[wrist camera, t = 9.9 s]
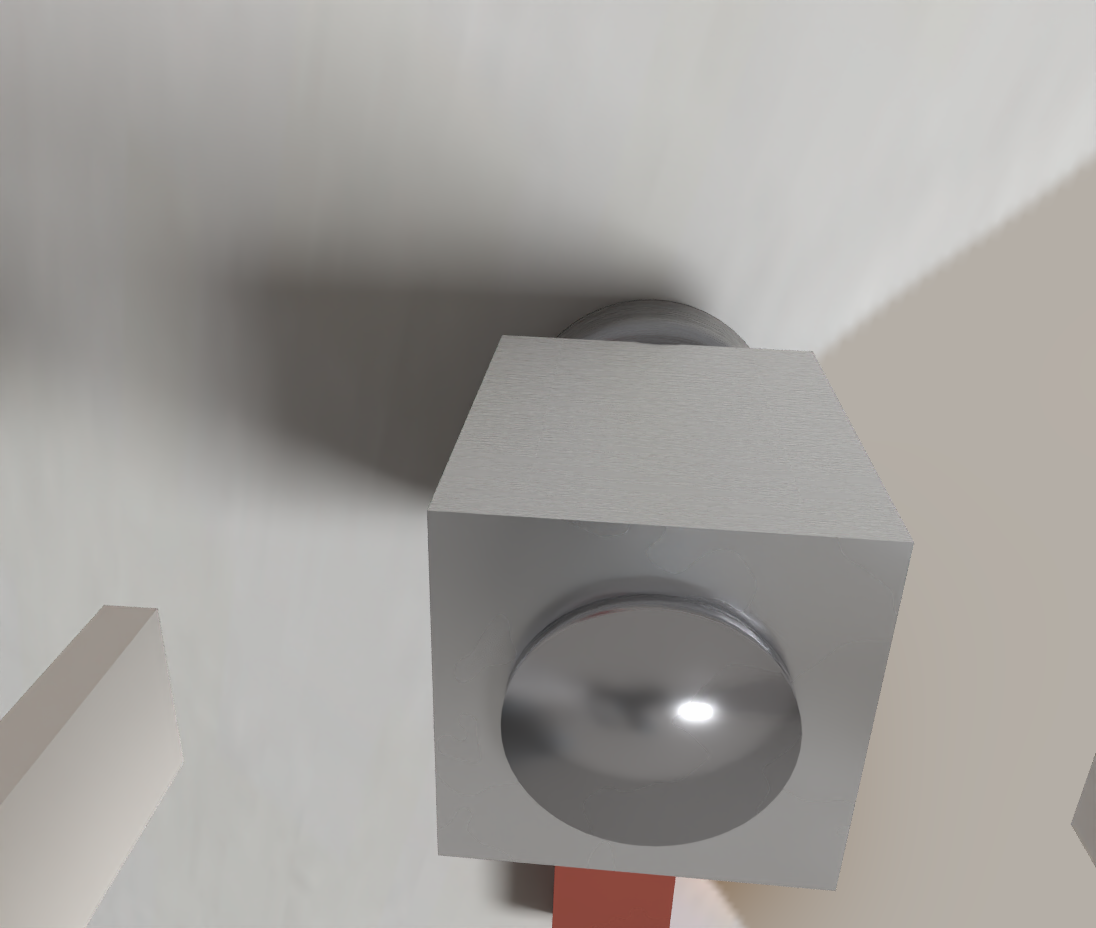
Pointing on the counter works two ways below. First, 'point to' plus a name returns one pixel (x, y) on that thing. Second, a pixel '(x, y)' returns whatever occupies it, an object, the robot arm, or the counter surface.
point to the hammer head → (658, 613)
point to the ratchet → (601, 895)
